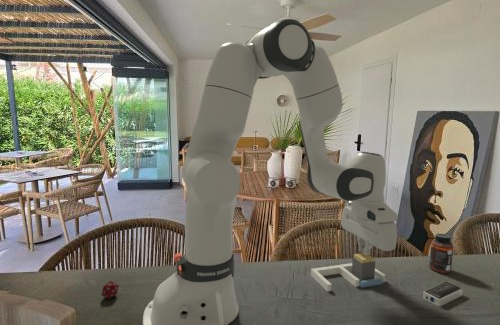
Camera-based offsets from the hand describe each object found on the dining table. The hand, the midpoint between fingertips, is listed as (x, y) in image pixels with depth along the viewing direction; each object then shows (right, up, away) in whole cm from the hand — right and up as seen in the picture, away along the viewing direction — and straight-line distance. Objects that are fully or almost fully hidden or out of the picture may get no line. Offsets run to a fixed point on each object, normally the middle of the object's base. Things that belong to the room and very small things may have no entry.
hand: (364, 253), depth 89 cm
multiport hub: (+18, -10, -8) cm, 22 cm away
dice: (-71, -9, -10) cm, 72 cm away
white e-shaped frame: (-5, -8, +1) cm, 9 cm away
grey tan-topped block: (0, -8, +1) cm, 8 cm away
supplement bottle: (+27, -8, +7) cm, 29 cm away
